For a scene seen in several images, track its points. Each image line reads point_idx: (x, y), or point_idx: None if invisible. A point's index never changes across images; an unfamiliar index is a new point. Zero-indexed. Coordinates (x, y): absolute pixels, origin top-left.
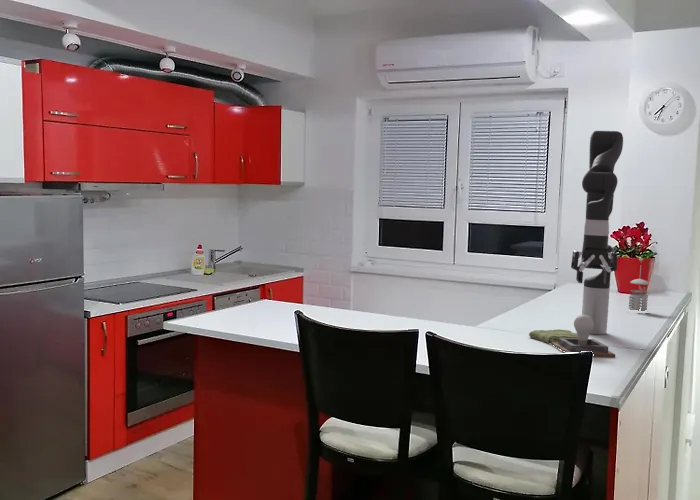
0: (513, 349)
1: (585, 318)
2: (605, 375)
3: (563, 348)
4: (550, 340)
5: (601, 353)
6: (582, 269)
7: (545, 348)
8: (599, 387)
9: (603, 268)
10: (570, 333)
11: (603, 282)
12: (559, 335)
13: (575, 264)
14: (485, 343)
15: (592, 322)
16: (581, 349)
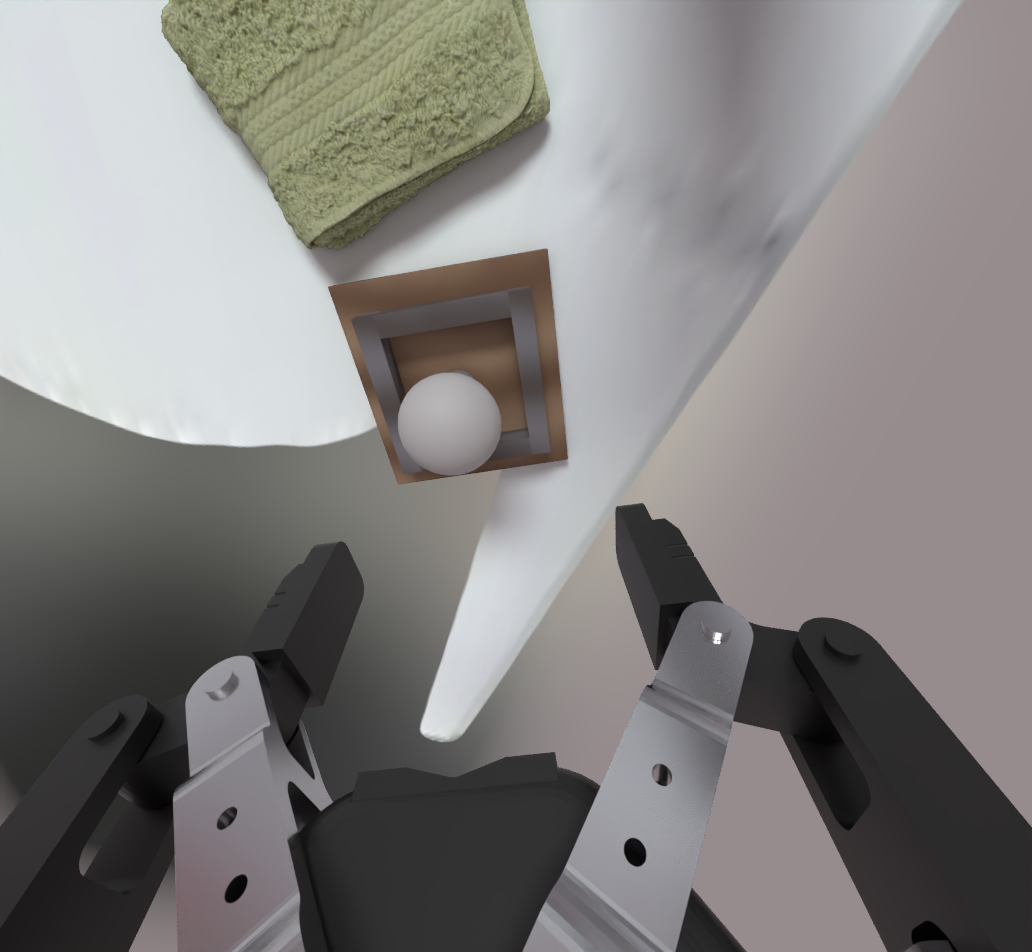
0: (190, 425)
1: (448, 474)
2: (472, 639)
3: (382, 413)
4: (320, 246)
5: (518, 458)
6: (296, 748)
7: (312, 366)
8: (439, 707)
9: (663, 663)
10: (435, 68)
11: (617, 508)
12: (362, 172)
13: (140, 852)
14: (33, 337)
15: (489, 456)
16: None
